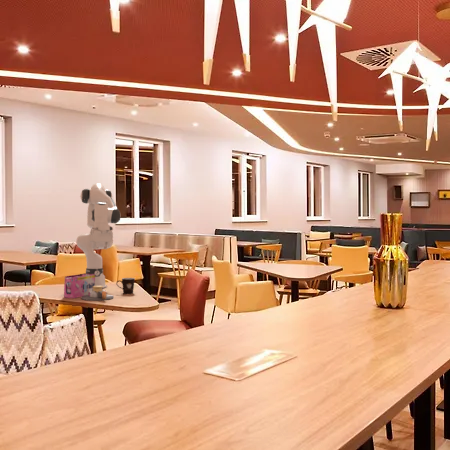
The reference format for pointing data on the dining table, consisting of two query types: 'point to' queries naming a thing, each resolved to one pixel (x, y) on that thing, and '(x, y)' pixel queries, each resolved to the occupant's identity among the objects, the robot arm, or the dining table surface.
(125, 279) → the coffee mug
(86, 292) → the gum box
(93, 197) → the robot arm
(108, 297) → the cap housing
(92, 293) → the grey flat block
